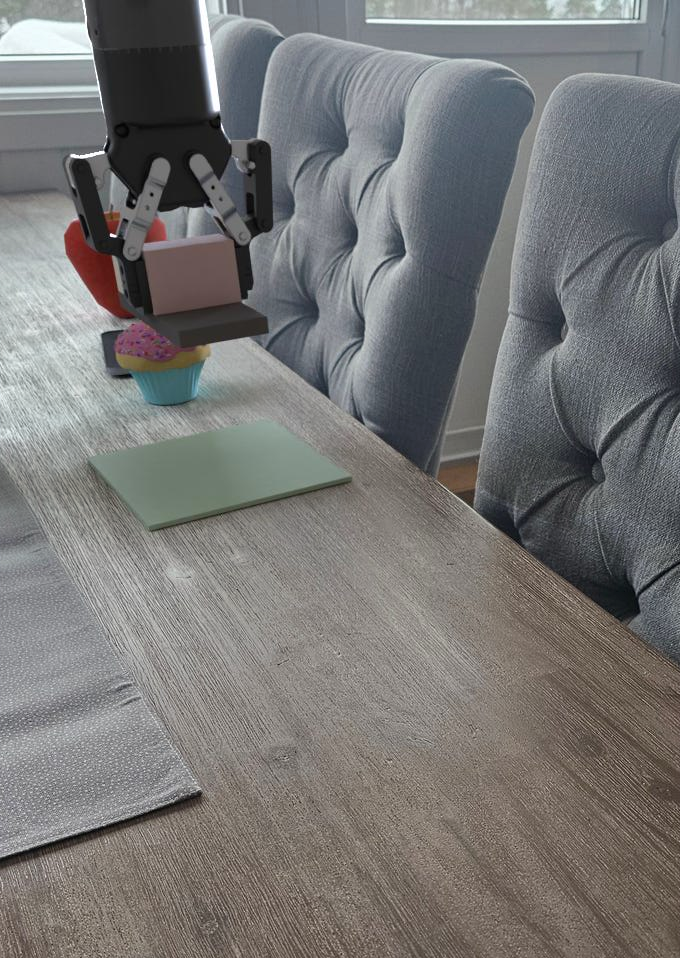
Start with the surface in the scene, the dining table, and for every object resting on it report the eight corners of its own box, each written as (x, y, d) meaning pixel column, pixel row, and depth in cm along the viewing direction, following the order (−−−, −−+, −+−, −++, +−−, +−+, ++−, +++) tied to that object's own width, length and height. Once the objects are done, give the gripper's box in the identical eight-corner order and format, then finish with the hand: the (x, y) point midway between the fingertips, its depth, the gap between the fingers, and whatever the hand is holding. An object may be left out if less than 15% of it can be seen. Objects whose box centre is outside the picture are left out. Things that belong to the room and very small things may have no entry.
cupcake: (195, 413, 100) (172, 274, 94) (107, 410, 102) (78, 273, 95) (230, 383, 107) (211, 252, 101) (146, 380, 109) (123, 251, 102)
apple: (159, 297, 137) (141, 190, 130) (192, 315, 129) (174, 203, 122) (68, 312, 131) (44, 202, 125) (97, 332, 124) (73, 216, 117)
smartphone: (169, 324, 123) (183, 360, 110) (171, 332, 123) (185, 369, 111) (99, 331, 121) (105, 369, 109) (100, 340, 121) (107, 378, 109)
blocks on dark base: (269, 333, 78) (259, 250, 75) (181, 349, 75) (166, 264, 72) (201, 294, 88) (189, 220, 85) (120, 306, 86) (106, 230, 83)
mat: (149, 531, 79) (148, 526, 79) (87, 462, 91) (86, 457, 91) (352, 480, 86) (352, 475, 86) (270, 422, 98) (270, 417, 98)
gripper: (51, 47, 66) (108, 333, 75) (278, 35, 72) (306, 300, 81) (22, 43, 71) (78, 310, 80) (235, 32, 78) (266, 281, 87)
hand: (193, 304), depth 81 cm, fingers closed on blocks on dark base, 6 cm apart
